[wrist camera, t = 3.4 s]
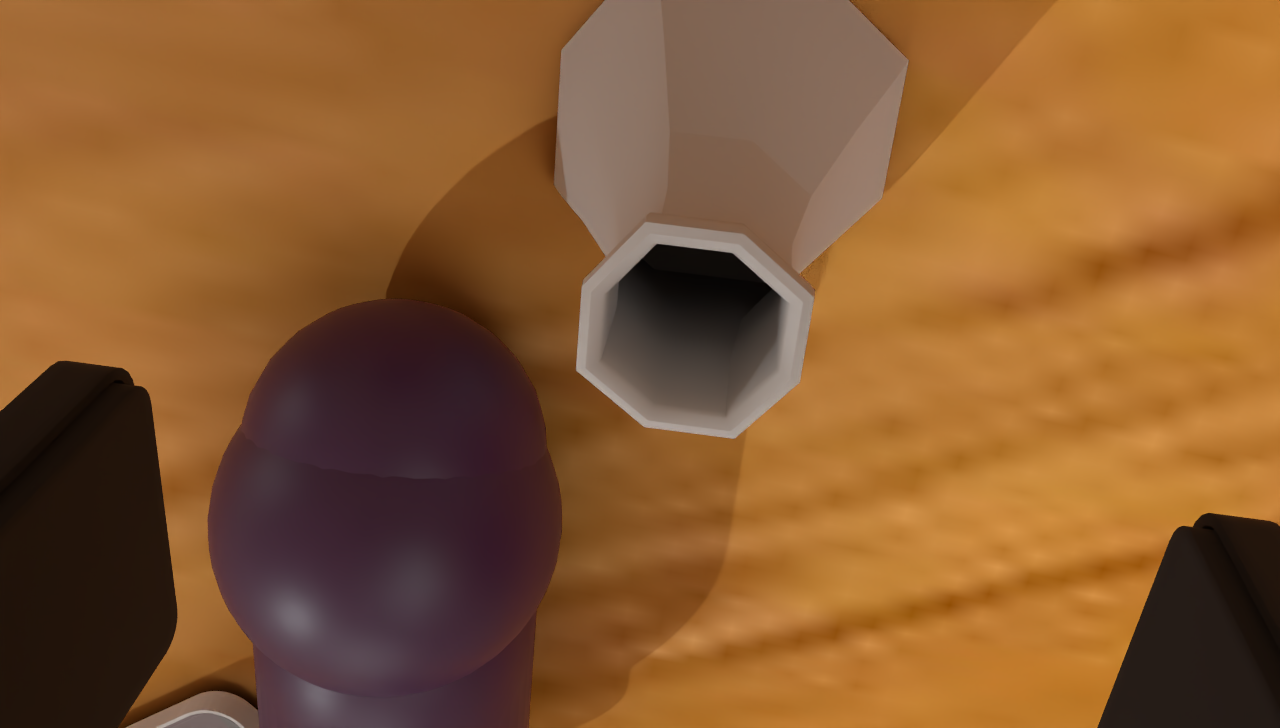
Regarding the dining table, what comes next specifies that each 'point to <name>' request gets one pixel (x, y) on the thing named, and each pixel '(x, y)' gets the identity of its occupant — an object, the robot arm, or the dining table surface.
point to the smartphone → (205, 713)
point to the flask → (716, 191)
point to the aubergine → (389, 524)
